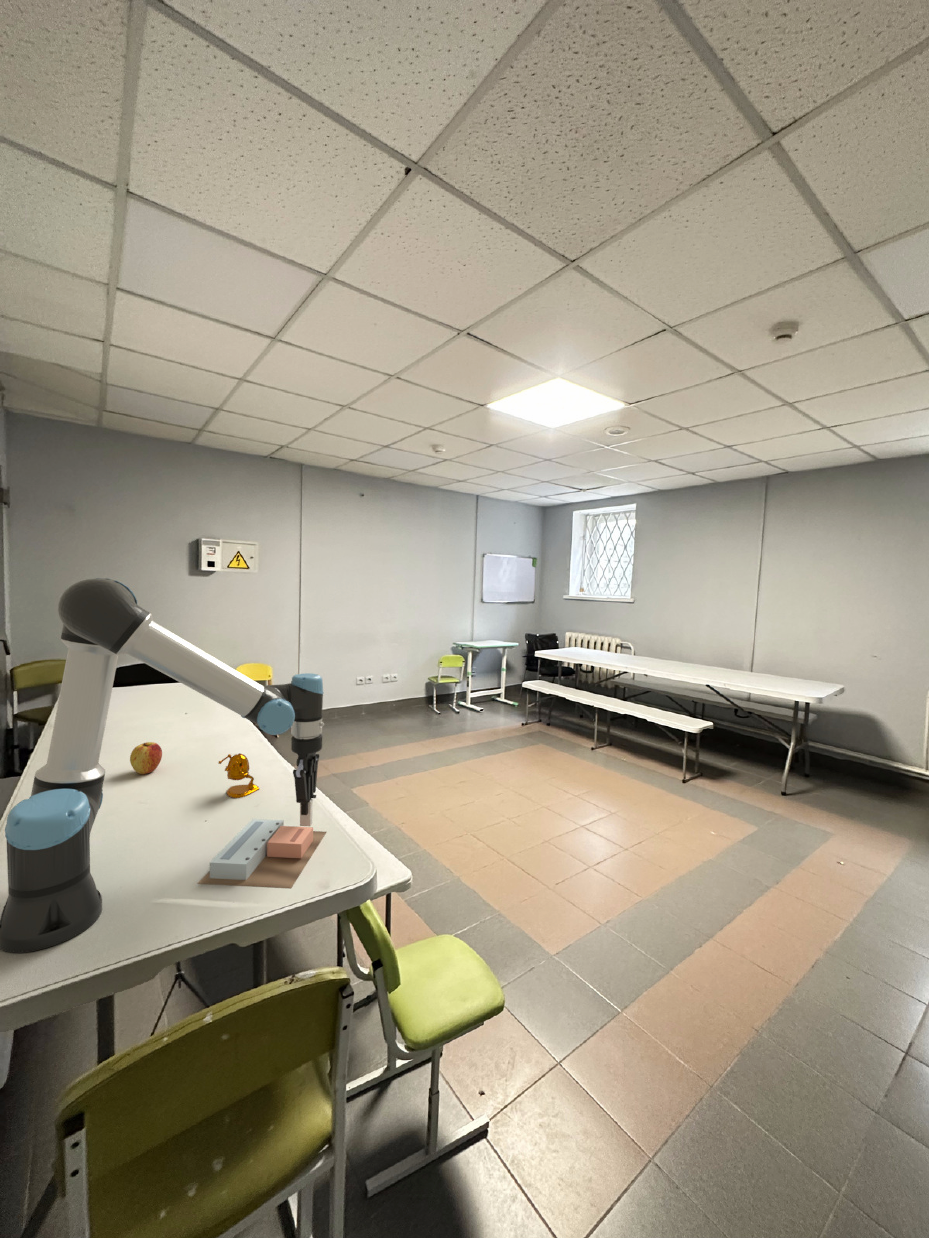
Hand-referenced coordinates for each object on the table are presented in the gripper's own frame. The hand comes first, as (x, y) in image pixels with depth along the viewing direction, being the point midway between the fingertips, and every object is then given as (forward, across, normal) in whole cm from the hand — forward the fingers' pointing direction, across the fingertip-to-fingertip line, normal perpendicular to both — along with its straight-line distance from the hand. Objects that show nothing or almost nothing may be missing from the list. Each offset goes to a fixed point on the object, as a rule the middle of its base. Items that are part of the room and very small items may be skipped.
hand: (306, 824), depth 128 cm
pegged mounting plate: (+2, -12, +9) cm, 15 cm away
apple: (+3, +35, +66) cm, 75 cm away
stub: (+2, -9, 0) cm, 9 cm away
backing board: (+2, -12, +5) cm, 13 cm away
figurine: (+3, +23, +28) cm, 37 cm away
